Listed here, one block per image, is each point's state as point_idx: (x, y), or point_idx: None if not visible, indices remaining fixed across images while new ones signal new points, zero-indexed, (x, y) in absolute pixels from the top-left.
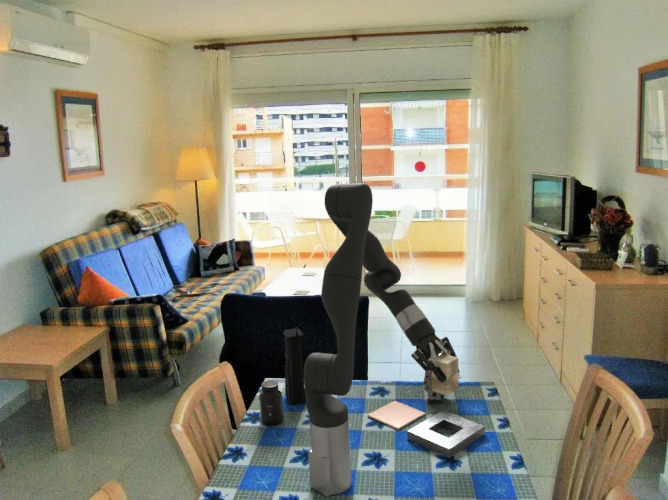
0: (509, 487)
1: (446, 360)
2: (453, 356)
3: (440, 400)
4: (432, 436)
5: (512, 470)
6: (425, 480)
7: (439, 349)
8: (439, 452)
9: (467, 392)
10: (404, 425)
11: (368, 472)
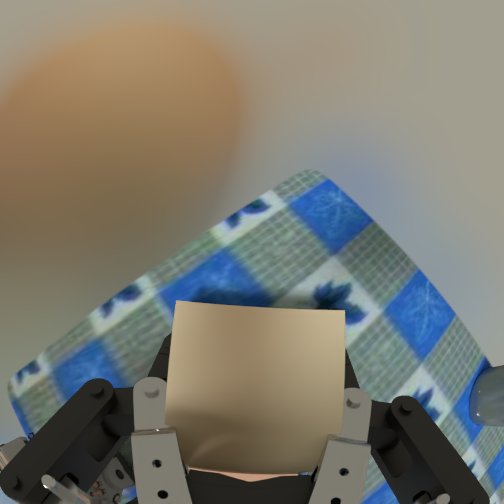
0: (320, 190)
1: (288, 357)
2: (113, 390)
3: (118, 457)
4: None
5: (274, 204)
6: (406, 303)
7: (192, 496)
8: None
9: (47, 415)
10: (273, 473)
11: (447, 389)
